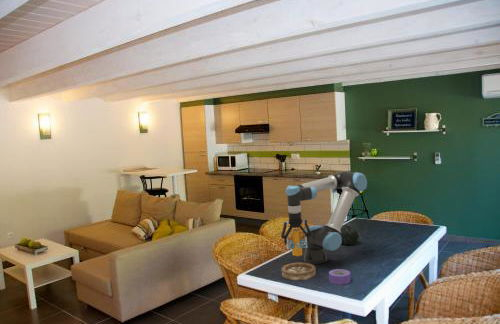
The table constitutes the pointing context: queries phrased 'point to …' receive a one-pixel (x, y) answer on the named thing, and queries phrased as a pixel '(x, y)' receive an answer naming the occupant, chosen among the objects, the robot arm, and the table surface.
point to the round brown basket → (298, 271)
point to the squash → (349, 235)
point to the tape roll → (339, 276)
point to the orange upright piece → (297, 244)
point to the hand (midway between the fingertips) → (296, 248)
